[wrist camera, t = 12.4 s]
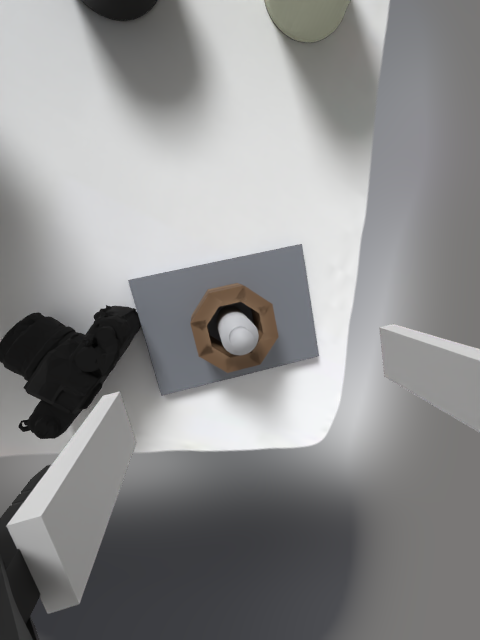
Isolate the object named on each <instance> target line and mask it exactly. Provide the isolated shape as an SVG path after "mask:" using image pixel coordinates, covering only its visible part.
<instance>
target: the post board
mask: <svg viewBox="0 0 480 640" xmlns="http://www.w3.org/2000/svg"><path fill="white" fill-rule="evenodd" d="M128 281H129V284H130V288H131V291H132V295H133V298H134V302H135V305H136V309H137V312H138V316H139V319H140V323H141V326H142V330H143V333H144V337H145V340H146V344H147V347H148V351H149V354H150V357H151V361H152V364H153V368H154V371H155V375H156V378H157V382H158V385H159V389H160V392H161V396H162V395H166V394H170V393H174V392H178V391H182V390H186V389H190V388H194V387H198V386H202V385H206V384H210V383H214V382H218V381H222V380H226V379H230V378H234V377H238V376H242V375H246V374H250V373H254V372H258V371H262V370H266V369H269V368H273V367H277V366H281V365H285V364H289V363H293V362H297V361H301V360H305V359H309V358H313V357H317V356H319V354H318V347H317V341H316V334H315V328H314V321H313V314H312V308H311V301H310V295H309V288H308V282H307V275H306V269H305V262H304V255H303V249H302V244H300V245H295V246H290V247H285V248H280V249H276V250H271V251H266V252H261V253H256V254H252V255H247V256H242V257H237V258H232V259H228V260H223V261H218V262H213V263H208V264H204V265H199V266H194V267H189V268H184V269H180V270H175V271H170V272H165V273H160V274H156V275H151V276H146V277H141V278H136V279H132V280H128ZM235 283H239V284H242V285H244V286H246V287H247V288H249V289H250V290H252V291H253V292H255V293H256V294H258V295H259V296H261V297H262V298H264V299H265V300H267V301H268V302H270V303H272V304H273V309H274V315H275V320H276V325H277V331H278V336H279V337H278V339H277V340H276V342H275V343H274V345H273V346H272V348H271V349H270V351H269V352H268V354H267V355H266V357H265V358H264V360H263V361H262V363H261V364H260V365H257V366H253V367H249V368H245V369H241V370H237V371H233V372H229V373H227V372H225V371H224V370H222V369H220V368H218V367H216V366H215V365H213V364H211V363H209V362H208V361H206V360H204V359H202V358H200V357H199V356H198V352H197V348H196V344H195V340H194V336H193V332H192V328H191V324H190V322H191V316H192V314H193V312H194V311H195V309H196V307H197V306H198V304H199V303H200V301H201V299H202V298H203V296H204V295H205V293H206V291H207V290H208V289H212V288H217V287H221V286H226V285H230V284H235ZM208 329H209V333H210V336H212V337H214V338H215V339H217V340H219V341H220V342H222V344H223V346H224V348H225V349H226V350H227V351H228V352H229V353H231V354H234V355H245V354H248V353H249V352H251V351H252V350H253V349H254V348H255V347H256V345H257V343H258V338H259V335H258V330H257V328H256V326H255V325H254V321H253V316H252V311H251V308H250V307H248V306H247V305H245V304H244V303H242V302H237V303H233V304H229V305H224V306H220V307H218V309H217V310H216V312H215V314H214V315H213V317H212V318H211V320H210V321H209V323H208Z"/></svg>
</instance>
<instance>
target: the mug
mask: <svg viewBox="0 0 480 640" xmlns="http://www.w3.org/2000/svg"><path fill="white" fill-rule="evenodd" d="M82 1H83V2H84V3H85V4H86V5H87V6H88V7H89V8H91V9H92V10H93V11H95V12H97V13H98V14H100V15H102V16H104V17H107V18H110V19H114V20H131V19H135V18H138V17H140V16H142V15H144V14H145V13H146V12H148V11H149V10H150V9H151V8H152V7H153V5H154V4H155V3H156V1H157V0H82Z"/></svg>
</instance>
